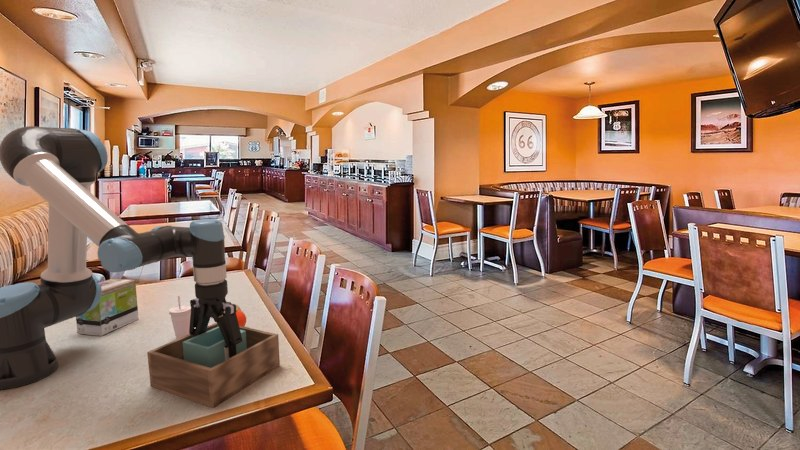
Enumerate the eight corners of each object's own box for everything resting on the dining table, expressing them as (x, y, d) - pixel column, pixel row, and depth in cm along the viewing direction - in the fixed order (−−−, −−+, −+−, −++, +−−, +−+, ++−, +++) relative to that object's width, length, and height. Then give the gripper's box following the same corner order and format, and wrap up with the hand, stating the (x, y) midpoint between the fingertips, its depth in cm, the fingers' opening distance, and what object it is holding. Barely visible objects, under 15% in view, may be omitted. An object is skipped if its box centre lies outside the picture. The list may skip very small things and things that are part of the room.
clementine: (224, 327, 143) (222, 307, 142) (245, 323, 146) (244, 304, 145) (224, 336, 136) (223, 315, 135) (247, 332, 139) (246, 311, 138)
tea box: (103, 336, 136) (97, 292, 134) (76, 334, 138) (71, 290, 136) (140, 319, 151) (135, 278, 149) (115, 317, 153) (111, 277, 151)
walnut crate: (213, 407, 97) (210, 370, 96) (150, 386, 107) (147, 352, 105) (279, 365, 117) (278, 334, 115) (221, 350, 126) (219, 321, 125)
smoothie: (169, 343, 131) (165, 299, 129) (174, 335, 137) (170, 293, 135) (192, 341, 133) (188, 297, 130) (195, 333, 139) (192, 291, 137)
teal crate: (210, 379, 104) (207, 348, 103) (185, 372, 108) (182, 342, 107) (247, 359, 115) (245, 330, 113) (223, 352, 118) (221, 325, 117)
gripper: (254, 282, 106) (259, 367, 110) (193, 272, 116) (200, 350, 119) (230, 290, 100) (237, 380, 103) (168, 279, 109) (176, 362, 113)
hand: (217, 364), depth 111 cm, fingers closed on teal crate, 9 cm apart
